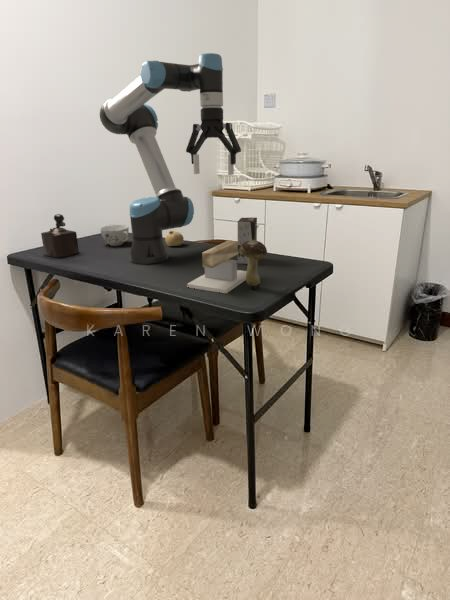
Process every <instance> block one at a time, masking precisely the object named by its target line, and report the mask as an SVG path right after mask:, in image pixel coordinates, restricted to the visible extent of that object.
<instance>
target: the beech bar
mask: <svg viewBox="0 0 450 600" xmlns="http://www.w3.org/2000/svg"><path fill="white" fill-rule="evenodd" d="M201 254H202V255H201V256H202V257H201V258H202V259H201V261H202V268H205V267H208V268H214V267H215V266H217V265H219V264H221V263H223V262H224V261H226V260H228V259H229V260H231V259H232V258H234V257H235V256H238V240H237V241H235V240H229V239H228V240H226V241H224V242H222V243H220V244H218V245H215V246H214V247H212V248H209V249H207V250H204V251H203V252H201Z"/></svg>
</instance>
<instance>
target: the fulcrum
mask: <svg viewBox="0 0 450 600" xmlns="http://www.w3.org/2000/svg"><path fill="white" fill-rule="evenodd" d="M246 272H247V270H240V269H238V259H237V260H235V259H228V260H226V261H224V262H223V263H221V264H219V265H217V266H215V267H214V268H208V267H204V274H203V275H200V276H199V277H197V278H195V279H193V280H191V281H190V282H188V283H187V284H186V285H187V286H186V287H187V288H188V287H189V289H194V288H195V290H200V291H201V290H202V291H207V292H213V293H219V292H220V293H221V294H225V293H226V294H229V292H231V291H232V290H233V289H235V288H236V287H238V286H240V284H242V283H243V282H245V281H246Z"/></svg>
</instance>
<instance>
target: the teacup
mask: <svg viewBox="0 0 450 600" xmlns="http://www.w3.org/2000/svg"><path fill="white" fill-rule="evenodd" d="M99 230H100V234H101V236H102V239H104V241H105V242H106V243H108V244H109V246H111V247H117V246H118V247H119V246H121V245H123V244H124V243H125V242H126V241H128V240H129V237H130V236H129V231H130V230H129V225H127V224H110V225H105V226H102V227H101V228H99Z"/></svg>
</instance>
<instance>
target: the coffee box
mask: <svg viewBox="0 0 450 600" xmlns="http://www.w3.org/2000/svg"><path fill="white" fill-rule="evenodd" d="M257 222H258V218H257V217H241V218H239V219H238V221H237V241H238V254H237V264H243V265H248V257H247V256H245V255H243V254H242V253H241V251H240V246H241V244H243V243H244V242H246V241H249V240H256V241H258V240H257V239H258V223H257Z"/></svg>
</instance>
